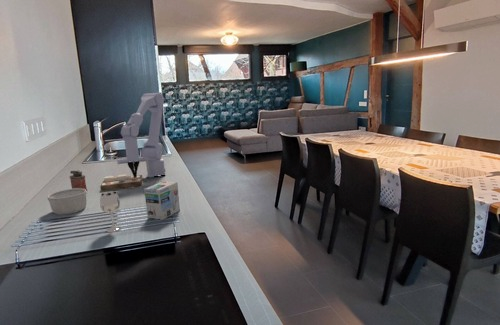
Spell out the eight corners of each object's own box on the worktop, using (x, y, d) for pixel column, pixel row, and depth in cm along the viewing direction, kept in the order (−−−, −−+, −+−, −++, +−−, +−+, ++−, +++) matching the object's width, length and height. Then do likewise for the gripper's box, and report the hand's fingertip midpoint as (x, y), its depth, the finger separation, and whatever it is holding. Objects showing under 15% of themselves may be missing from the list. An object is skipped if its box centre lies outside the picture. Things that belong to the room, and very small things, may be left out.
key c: (114, 181, 167) (113, 175, 166) (113, 183, 163) (113, 177, 162) (106, 182, 166) (105, 176, 165) (105, 184, 162) (104, 178, 161)
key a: (140, 181, 170) (139, 175, 169) (140, 183, 166) (139, 177, 166) (132, 182, 169) (131, 176, 168) (131, 184, 165) (130, 178, 165)
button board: (142, 179, 174) (142, 174, 174) (141, 186, 160) (141, 181, 159) (105, 183, 170) (104, 178, 169) (101, 191, 155) (100, 186, 155)
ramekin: (62, 218, 122) (59, 199, 120) (43, 213, 129) (40, 195, 127) (95, 207, 133) (93, 190, 131) (76, 203, 140) (73, 186, 138)
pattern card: (140, 179, 164) (140, 178, 164) (140, 181, 160) (140, 180, 160) (103, 183, 160) (102, 182, 160) (101, 185, 156) (101, 184, 156)
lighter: (89, 190, 158) (86, 169, 156) (83, 192, 155) (80, 171, 153) (75, 190, 160) (72, 169, 158) (70, 192, 157) (66, 171, 155)
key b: (127, 180, 168) (126, 174, 168) (126, 181, 164) (126, 175, 164) (119, 181, 167) (118, 175, 167) (118, 182, 163) (117, 176, 163)
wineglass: (116, 224, 112) (111, 190, 110) (127, 227, 109) (122, 192, 106) (100, 230, 107) (95, 194, 105) (111, 234, 104) (105, 197, 102)
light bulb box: (162, 220, 114) (159, 189, 111) (146, 218, 116) (143, 188, 114) (180, 210, 123) (178, 181, 121) (165, 208, 126) (162, 180, 124)
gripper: (115, 152, 159) (119, 180, 161) (147, 149, 162) (150, 176, 165) (116, 150, 165) (120, 177, 168) (147, 147, 169) (150, 173, 172)
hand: (135, 176), depth 167 cm, fingers closed, pressing on key a
